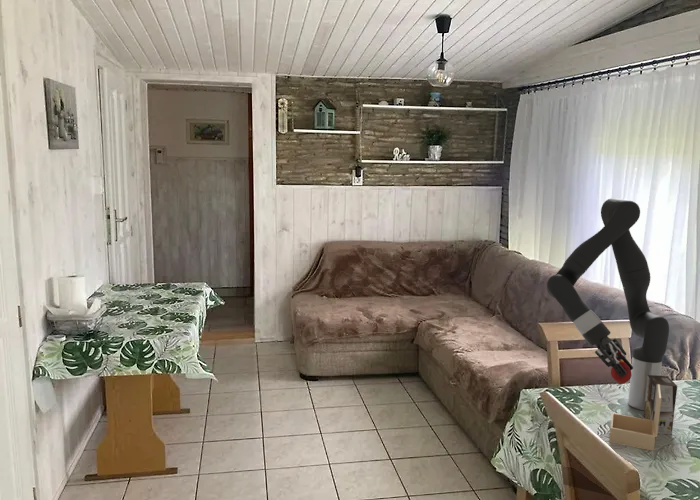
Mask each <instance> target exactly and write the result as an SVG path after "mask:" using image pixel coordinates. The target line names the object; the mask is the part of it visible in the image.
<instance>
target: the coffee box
mask: <svg viewBox="0 0 700 500" xmlns="http://www.w3.org/2000/svg"><path fill="white" fill-rule="evenodd" d="M658 384H660V392H661V405H660V415H659V424H658V434H660V435H661V434H662V435H668V436H671V435H672V434H673V429H674V428H673V426H674V418H675V417H674V416H675V407H676V403H677V400H676V399H677V394H678V393H677V391H678V385H677V384H676V383H675V382H674V381H673V380H672V379H671V378H670V377H669V376H667V375H661V376H657V375H647V385H646V395H645V407H644V410H643V418H642V419H648V420H653V421H654V415H655V405H656V396H657V386H658Z"/></svg>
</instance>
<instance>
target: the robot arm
mask: <svg viewBox="0 0 700 500" xmlns="http://www.w3.org/2000/svg"><path fill="white" fill-rule="evenodd" d="M601 205H602V206H601V208H600V217H601V221H602V223H603V227H602V228H601V229H600V230H599V231H598V232H596V233H595V234H593V235H592V236H590V237H589V238H587V239H586V240H585V241H583V242H582V243H580V244H579V245H578V246H577V247H576V248H575V249H574V250H573V251H572V253H571V254H570V255H569V256H568V257H567V258H566V259H565V261H564V263H563V265H562V266H561V268H560V269H559V270H558V271H557V272H556V273H555V274H553V275H552V276H550V277H549V278H548V280H547V281H546V290H547V293H548V295H550V297H552V298H555V300H556V301H557V302H558V303H559V305H560V306H561V307H562V309H563V310H562V311H563V312H564V313H565V315H566V316H567V317H568V319H569V320H570V321H571V322H572V323H573V325H574V327H575V328H576V330H577V331H578V333H579V334H580V335H581V336H582V337H583V338H584V339H583V340H585V341H586V342H587V344H588V345H589V346H590V347H593V346H596V348H597V349H596V350H595V351H594V353H595V355H596V356H598V357H599V359H600V360H601V361H602V362H603V363H604V365H606V367H608V368H609V367H610V368H612V367H613V368H614V369H615V371H616V372H617V373H618V374H619V376H620V377H623V376H625V375H626V374H627V372H626V371H625V370H624V368H623V367H622V366H621V365H620V363H619V362H620V359H622V360H623V361H624V362H625V363H626V364H627V365H628V366H629V367H630V369H631V374H632V376H631V378H630V380H629V390H628V401H627V404H628V406H630V407H632V408H634V409H636V410H640V411H644V407H645V395H646V385H647V375H657V376H662V366H663V358H664V356H665V354H666V350H667V348H668V341H669V336H670V324H669V321H668V320H667V319H666V318H665V317H664V316H661V315H660V314H656V313H654V312H652V311H651V310H650V308H649V304H648V300H647V299H648V298H647V293H648V289H649V287H650V283H651V272H650V268H649V264H648V261H647V258H646V256H645V254H644V253H643V251H642V249H641V248H640V246H639V245H638V244H637V242H636V241H635V240H634V238H633V236H632V233H631V231H630V229H631V228H632V227H633V226H634V225H635V224H636V223H637V222H638V221H639V219H640V216H641V208H640V206H639V204H638V203H636V202H635V201H633V200H631V199H624V198H619V197H618V198H617V197H616V198H615V197H613V198H612V197H611V198H608V199H606V200H605V201H604V202H603V203H602V204H601ZM610 246H611V248H612V252H613V255H614V259H615V264H616V267H617V271H618V275H619V278H620V282H621V285H622V289H623V294H624V298H625V302H626V305H627V312H628V319H629V326H630V329H631V331H632V332H633V333H634V335H636V336H638V337H640V338H642V339H643V341H642V346H637V347H635V348H633V351H632V358H631V363H630V361H629V360H628V359H627V352H626V351H625V349H624V348H623V347H622V345H621V344H620V343H619V341H618V339H616V338H613V339H611V338H610V337H609V336H610V335H611V330H610V329H608V327H607V325H605V324H604V322H603V321H602V320H601V319H600V317H599V316H598V315H597V314H596V313H595V312H594V311H593V310H592V309H591V307H589V305H588V304H587V303H586V301H584V300H583V299H582V297H581V296H580V295H579V293H578V291H577V290H576V289H575V287H574V286H575V284H576V283H577V282H578V280H579V279H580V277H582V276H583V275H584V274H585V273H586V272H587V271H588V270H589V268H590V267H591V266H592V265H593V263H594V262H595V261H596V260H597V259H598V258H599V257H600V256H601V255H602V254H603V253H604V252H605V251H606V249H608V248H609V247H610ZM618 363H619V364H618Z"/></svg>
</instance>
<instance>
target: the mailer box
mask: <svg viewBox="0 0 700 500" xmlns="http://www.w3.org/2000/svg"><path fill="white" fill-rule="evenodd" d="M660 405H661V392H660V384H658V386H657V396H656V405H655V415H654V421H653V420H648V419H643V418H641V417H637V416H631V415H624V414H620V413H616V412H615V413H614V412H611V419H610V431H609V443H612V444H613V443H614V444H618V445H624V446H628V447H633V448H638V449H643V450H647V451H651V452H653V451H655V444H656V438H657V437H658V434H659V433H658V424H659V415H660Z"/></svg>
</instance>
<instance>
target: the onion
mask: <svg viewBox="0 0 700 500" xmlns="http://www.w3.org/2000/svg"><path fill="white" fill-rule="evenodd" d="M618 362H619V363H620V365H621V366H622V367H623V368H624V370H625V371H626V372H627V374H626V375H625V376H623V377H620V376H619V374H618V373H617V372H616V371H615V369H614V368H613V367H611V369H610V376H611V377H612V378H613V380H614V381H615V382H616V383H617V384H618V385H623V384H625V383H627V382H630V378H631V376H632V374H631V369H630V367H629V366H628V365H627V364H626V363H625V362H624V361H623V360H622V359H620V361H618ZM619 363H618V364H619Z"/></svg>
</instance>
